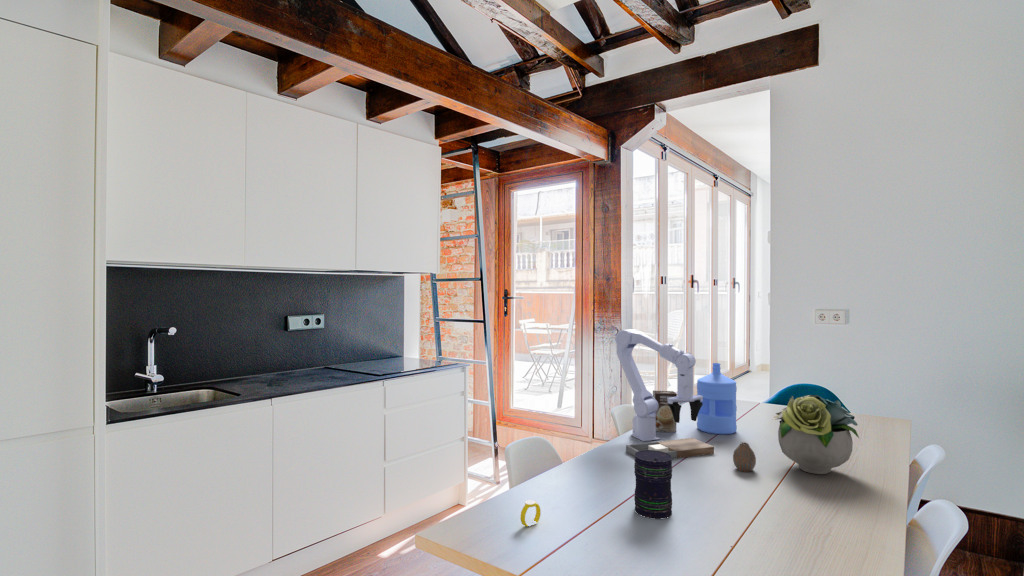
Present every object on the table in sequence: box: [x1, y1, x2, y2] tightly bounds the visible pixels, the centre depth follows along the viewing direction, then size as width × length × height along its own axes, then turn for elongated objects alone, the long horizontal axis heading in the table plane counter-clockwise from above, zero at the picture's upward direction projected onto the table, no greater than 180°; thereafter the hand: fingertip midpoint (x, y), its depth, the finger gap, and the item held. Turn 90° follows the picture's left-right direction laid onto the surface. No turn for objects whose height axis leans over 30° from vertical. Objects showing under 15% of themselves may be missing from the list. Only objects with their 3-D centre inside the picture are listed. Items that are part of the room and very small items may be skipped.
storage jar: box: [633, 450, 673, 520], centre depth 141 cm, size 10×10×15 cm
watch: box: [520, 499, 542, 527], centre depth 132 cm, size 6×3×6 cm, turn 133°
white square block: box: [648, 444, 669, 452], centre depth 188 cm, size 5×5×2 cm
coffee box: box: [652, 390, 677, 433], centre depth 221 cm, size 9×6×16 cm
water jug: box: [696, 362, 738, 435], centre depth 221 cm, size 16×16×28 cm
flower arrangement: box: [772, 394, 860, 475], centre depth 172 cm, size 25×25×24 cm
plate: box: [657, 437, 715, 459], centre depth 193 cm, size 12×16×2 cm
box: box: [625, 441, 678, 460], centre depth 188 cm, size 12×13×2 cm
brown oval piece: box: [732, 441, 757, 473], centre depth 173 cm, size 7×7×9 cm
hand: (685, 421), depth 199 cm, fingers open, 7 cm apart
